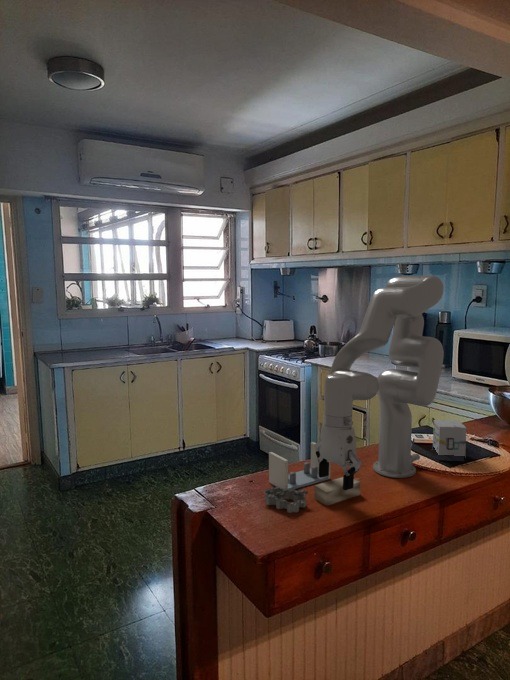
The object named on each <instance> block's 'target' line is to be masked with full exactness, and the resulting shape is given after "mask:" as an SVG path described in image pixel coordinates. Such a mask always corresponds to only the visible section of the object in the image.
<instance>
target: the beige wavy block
mask: <svg viewBox="0 0 510 680" xmlns="http://www.w3.org/2000/svg"><path fill="white" fill-rule="evenodd" d="M313 485H314V489H313V490H314V493H313V494H314V497H313V499H314V500H316V501H317V502H319V503H320V504H323V505H325V506H330V505H333V504H337V503H339V502H342V501H345V500H348V499H351V498H354V497H358V496H360V495H361V481H360V480H358V479H355V478H354V485H353V488H352V489H348V490H343V476H342V477H338V478H335V479H330V480H327V481H323V482H320V483H318V484H313Z"/></svg>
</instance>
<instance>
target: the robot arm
mask: <svg viewBox="0 0 510 680" xmlns="http://www.w3.org/2000/svg"><path fill="white" fill-rule="evenodd" d="M444 288H445V287H444V283H443V281H442V280H441V279H440V278H439V277H438V276H436V275H401V276H400V275H399V276H395V277H392V278H390V279H389V280H388V281H387V282H386V287H381V288H378V289H375V291H374V292H373V293H372V295H371V298H370V300H369V303H368V305H367V306H368V307H367V308H366V311H365V315H364V317H363V320H362V322H361V325H360V328H359V331H358V333H357V334H356V335H355V336H354V337H352V338H351V339H349V341H347V342H346V344H344V345H343V346H342V347H341V348H340V350H338V352H337V353H336V355H335V356H334V359H333V361H332V365H331V367H330V371H329V373H328V374H327V375H326V377H324V390H323V391H324V392H323V393H324V395H323V396H324V397H323V422H322V425H321V430H320V436H319V442H315V443H316V444H314V447H315V451H316V456H317V458H318V460H317V461H318V463H319V477H320V478H322V477H326V476H328V475H329V462H327V461H330V462H331V464H332V463H333V465H334V464H335V465H337V466H339V467H341V469H342V470H343V473H344V474H343V476H342V477H343V490H348V489H352V488H353V485H354V479H355V475H356V474H357V472H359V470H360V467H361V465H362V461H361V460H360V459H359V457H358V456H357V442H356V441H357V440H356V434H355V428H354V427H353V425H354V421H353V404H354V403H353V402H354V401H369V400H372V399H374V397H376V395H377V396H378V405H379V406H378V407H379V416H378V417H379V418H378V419H379V420H378V421H379V424H378V425H379V427H378V430H379V433H378V460H376V461H374V463H373V465H372V467H373V468H372V469H373V470H374V471H375V473H377V474H379V475H381V476H384V477H387V478H388V477H389V478H393V479H394V478H395V479H399V478H400V479H405V478H410V477H412V476H414V475H416V472H417V471H416V467H415V465H413V463H414V462H415V461H418V460H420V458H421V456H420V454H419V453H414V454H412V428H413V427H412V426H413V425H412V422H413V416H412V411H411V409H410V407H409V405H414V406H420V407H428V406H430V405H432V403H434V400H435V399H436V395H437V392H438V387H439V382H440V377H441V372H442V368H443V363H444V357H445V356H444V353H445V351H444V348H443V344H442V343H441V341H440V340H439V339H437V338H435V337H432V336H424V335H423V333H424V332H423V331H424V327H425V320H424V319H425V318H424V316H423V313H425V312H426V311H428V310H429V309H432V307H434V306H436V305H437V304H439V302H440V301H441V299H442V298H443V294H444ZM392 331H393V332H392ZM391 336H392V337H391ZM390 337H391V340H390ZM389 340H390V345H389V349H388V357H389V360H390V362H391V363H393V364H394V365H398V366H402V367H408V368H416V369H418V371H411V370H406V369H405V370H404V369H399V368H398V369H397V368H389V369H385V370H382V371H380V373H379V374H378V377H376V376H374V375H373V374H371V373H368V372H364V371H358V370H353V369H351V367H352V366H353V364H354V363H355V361H356V360H358V359H359V358H360V357H362V356H363V355H365V354H368V353H371V352H373V351H375V350H378V349H380V348H383V347H385V346H386V345H387V344H388V343H389ZM348 467H349V468H348Z"/></svg>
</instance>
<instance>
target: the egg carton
mask: <svg viewBox="0 0 510 680" xmlns="http://www.w3.org/2000/svg"><path fill="white" fill-rule="evenodd" d="M262 492H263V494H264V501H265V505H267V506H273V505H274V506H276V507H275V508H276V509H278V510H280V509H284V510H285V509H286V512H287V513H289V514H291V513H298V512H299V511H300V508H306V506H307V501H306V500H307V499H306V496H307V495H308V494H309V492H308V490H305V489H302V488H300V489H298V490H296V489H294V490H290V489H283V488H281V489H280V487H278V486H275V487H274V486H272V487H270V488H269V489H268V488H267V489H266V490H262ZM288 500H292V501H293V502H289V501H288Z"/></svg>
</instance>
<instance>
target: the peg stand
mask: <svg viewBox="0 0 510 680" xmlns="http://www.w3.org/2000/svg"><path fill="white" fill-rule="evenodd" d="M316 443H317V442H314V441H311V442H310V462H303V470H299V471H290V472H289V460H288V459H287V458H284V457H283V456H280V455H278V454H277V453H275V452H273V451H270V452H268V483H270V484H272V485H273V487H274V486H275V487H276V486H278V487H280V489H281V488H283V489H290V490H296V489H302V488H304V487H306V486H310V485H315V484H317V483H318V484H319V483H322V482H326V481H329V480H331V468H332V467H331V464H332V462H330V461H327V462H329V475H328V476H326V477H322V478H320V477H319V463H318V461H317V460H318V458H317V456H316V451H315V447H314V444H316Z"/></svg>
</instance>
